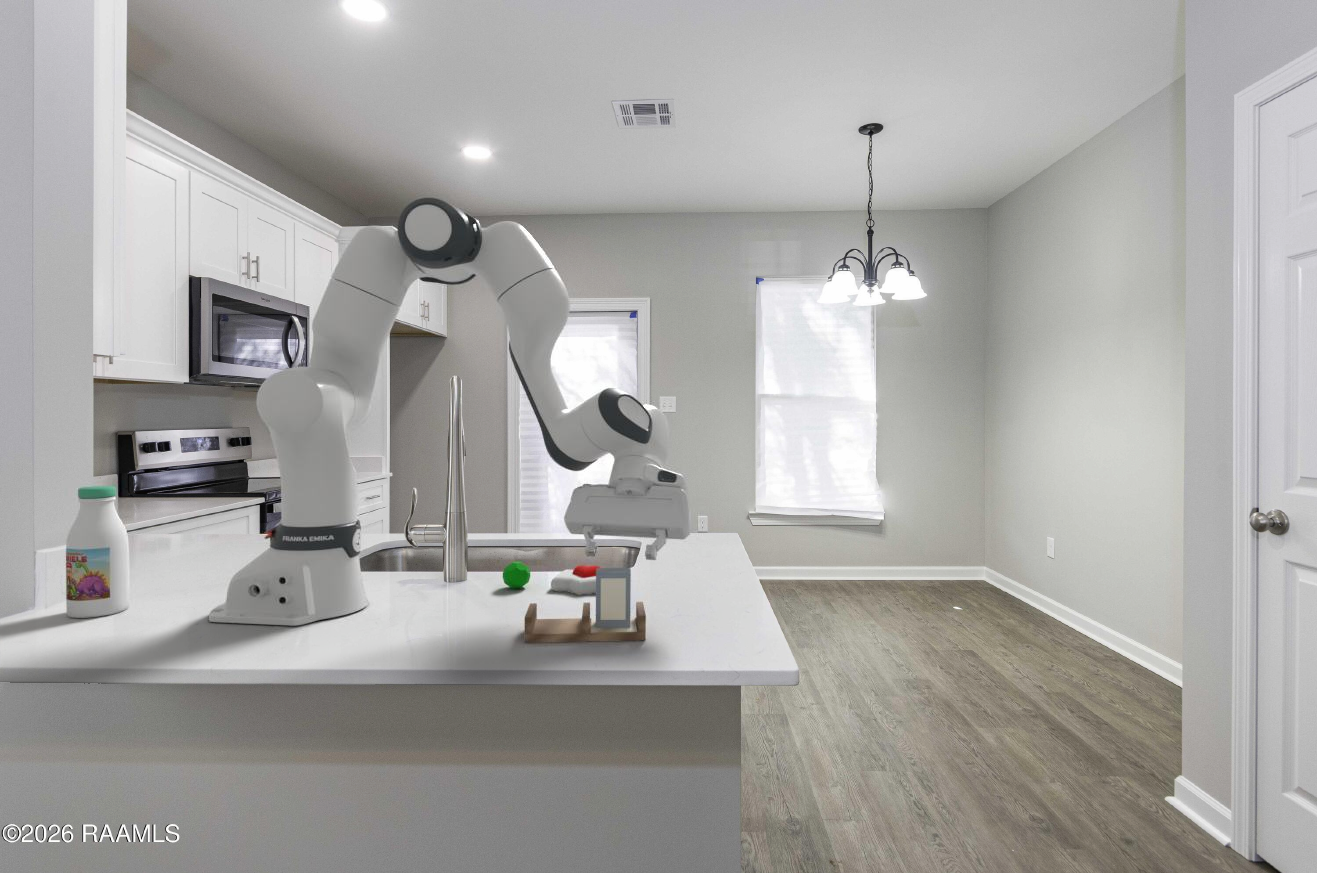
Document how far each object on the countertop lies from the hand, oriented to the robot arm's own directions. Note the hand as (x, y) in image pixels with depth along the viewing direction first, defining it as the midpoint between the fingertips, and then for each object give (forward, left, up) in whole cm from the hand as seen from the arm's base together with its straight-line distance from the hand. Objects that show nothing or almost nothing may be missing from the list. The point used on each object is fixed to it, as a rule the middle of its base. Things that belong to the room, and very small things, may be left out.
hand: (619, 556), depth 102 cm
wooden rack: (-5, -4, -10) cm, 12 cm away
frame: (-1, -4, -9) cm, 10 cm away
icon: (-6, +22, -11) cm, 25 cm away
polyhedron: (-18, +23, -11) cm, 31 cm away
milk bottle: (-83, +11, -11) cm, 84 cm away
